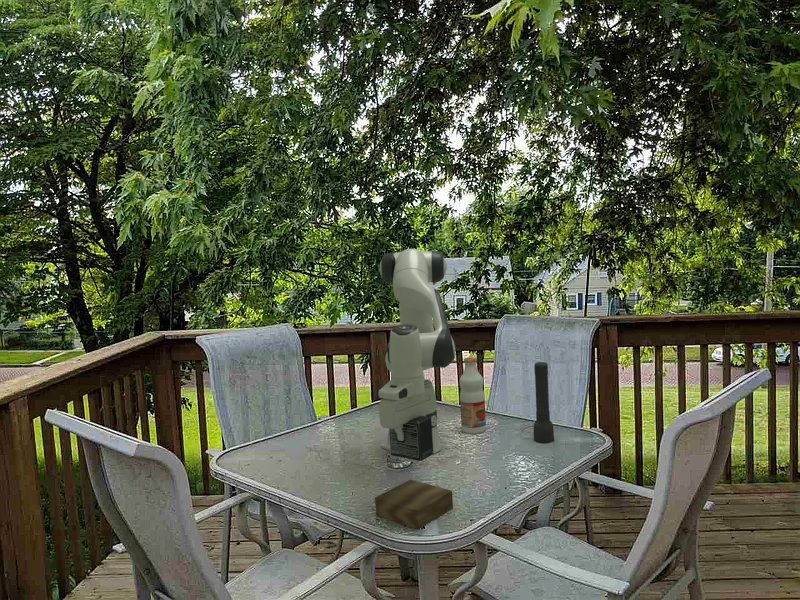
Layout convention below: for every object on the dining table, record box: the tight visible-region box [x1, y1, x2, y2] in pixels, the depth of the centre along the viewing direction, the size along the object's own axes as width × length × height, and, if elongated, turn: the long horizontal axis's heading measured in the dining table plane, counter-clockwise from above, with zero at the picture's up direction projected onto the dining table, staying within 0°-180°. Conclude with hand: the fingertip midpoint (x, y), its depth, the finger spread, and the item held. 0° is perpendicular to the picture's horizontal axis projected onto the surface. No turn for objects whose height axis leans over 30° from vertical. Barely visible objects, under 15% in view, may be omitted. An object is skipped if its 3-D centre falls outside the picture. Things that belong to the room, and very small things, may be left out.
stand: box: [374, 479, 454, 530], centre depth 169 cm, size 15×15×5 cm
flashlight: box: [533, 361, 555, 444], centre depth 220 cm, size 7×28×7 cm
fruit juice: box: [459, 357, 487, 435], centre depth 236 cm, size 9×9×28 cm
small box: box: [388, 416, 435, 462], centre depth 167 cm, size 11×6×10 cm, turn 52°
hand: (411, 436), depth 167 cm, fingers closed on small box, 6 cm apart
